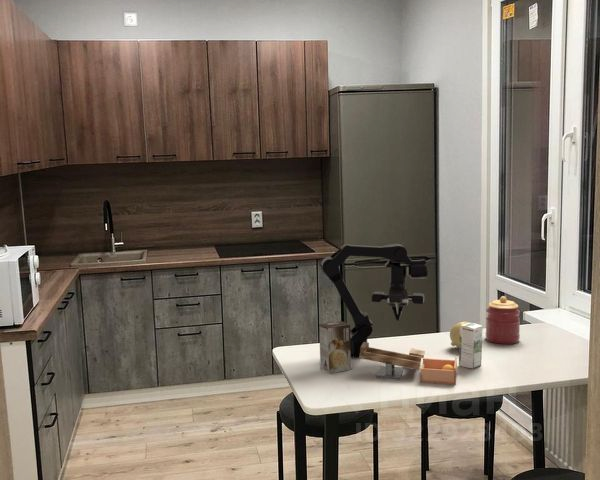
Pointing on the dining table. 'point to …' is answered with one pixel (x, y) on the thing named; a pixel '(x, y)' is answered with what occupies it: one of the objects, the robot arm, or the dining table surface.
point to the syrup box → (470, 345)
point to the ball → (447, 367)
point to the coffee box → (335, 347)
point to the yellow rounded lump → (456, 334)
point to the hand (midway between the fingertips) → (397, 320)
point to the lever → (392, 356)
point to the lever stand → (390, 372)
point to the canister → (502, 322)
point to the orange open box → (438, 371)
